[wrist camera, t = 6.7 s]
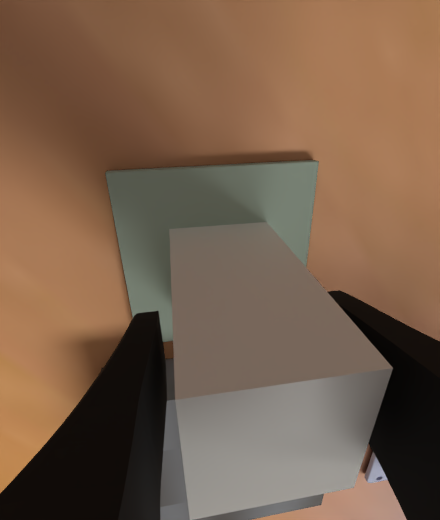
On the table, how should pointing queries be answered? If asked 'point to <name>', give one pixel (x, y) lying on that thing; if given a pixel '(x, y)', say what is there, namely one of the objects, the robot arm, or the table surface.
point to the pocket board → (173, 479)
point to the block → (264, 373)
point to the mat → (202, 216)
